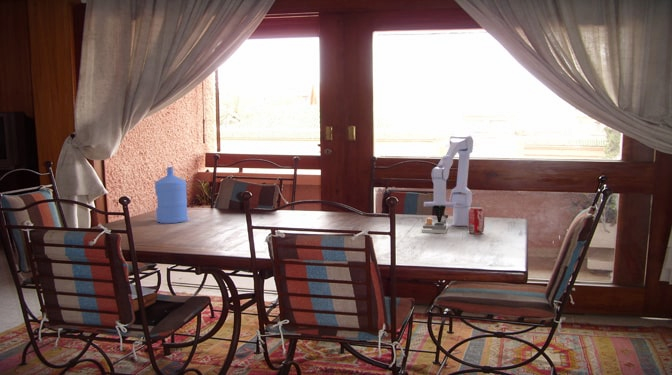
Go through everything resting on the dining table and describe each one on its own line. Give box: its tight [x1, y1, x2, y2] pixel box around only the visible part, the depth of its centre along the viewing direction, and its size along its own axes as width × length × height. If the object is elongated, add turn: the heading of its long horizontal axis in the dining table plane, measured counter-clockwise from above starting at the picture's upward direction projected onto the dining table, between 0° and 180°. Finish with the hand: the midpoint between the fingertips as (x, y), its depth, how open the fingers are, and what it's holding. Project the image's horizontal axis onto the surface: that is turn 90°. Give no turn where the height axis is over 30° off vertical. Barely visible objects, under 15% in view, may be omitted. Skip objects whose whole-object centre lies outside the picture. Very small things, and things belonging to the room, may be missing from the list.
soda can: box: [467, 205, 485, 235], centre depth 286 cm, size 7×7×12 cm
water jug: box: [154, 166, 189, 224], centre depth 322 cm, size 16×16×28 cm
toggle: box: [442, 213, 449, 222], centre depth 299 cm, size 2×2×5 cm
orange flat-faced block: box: [426, 217, 433, 226], centre depth 299 cm, size 2×3×3 cm
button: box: [435, 221, 444, 226], centre depth 291 cm, size 4×4×2 cm
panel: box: [421, 219, 449, 234], centre depth 296 cm, size 11×17×4 cm, turn 166°
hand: (439, 221), depth 291 cm, fingers closed
